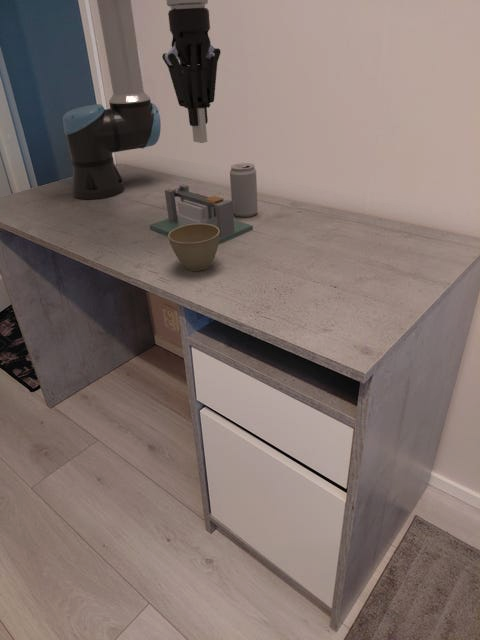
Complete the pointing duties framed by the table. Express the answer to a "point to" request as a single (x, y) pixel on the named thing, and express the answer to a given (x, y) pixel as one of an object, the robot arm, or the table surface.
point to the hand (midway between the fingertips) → (200, 141)
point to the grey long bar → (197, 197)
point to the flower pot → (195, 245)
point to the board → (201, 216)
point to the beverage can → (244, 189)
